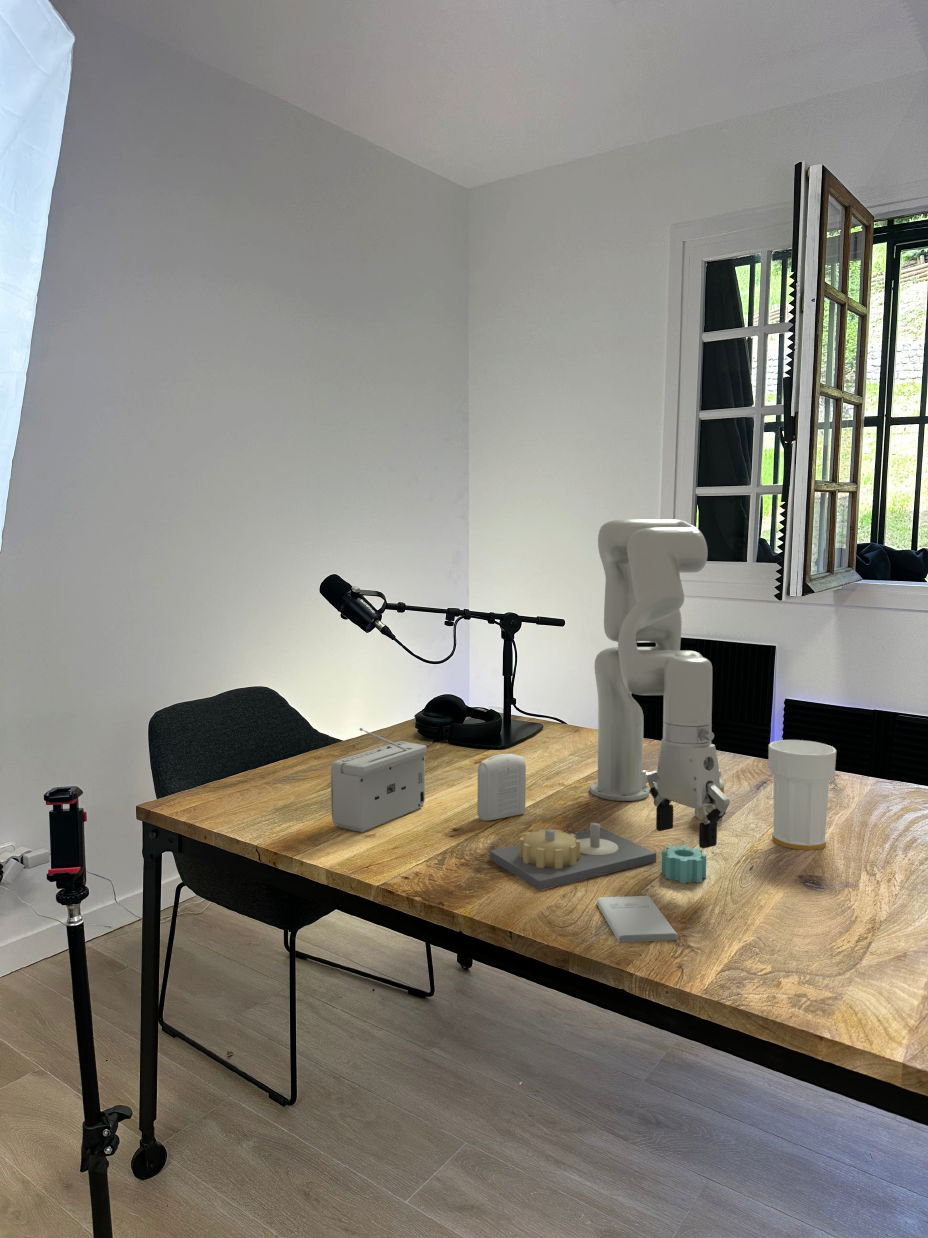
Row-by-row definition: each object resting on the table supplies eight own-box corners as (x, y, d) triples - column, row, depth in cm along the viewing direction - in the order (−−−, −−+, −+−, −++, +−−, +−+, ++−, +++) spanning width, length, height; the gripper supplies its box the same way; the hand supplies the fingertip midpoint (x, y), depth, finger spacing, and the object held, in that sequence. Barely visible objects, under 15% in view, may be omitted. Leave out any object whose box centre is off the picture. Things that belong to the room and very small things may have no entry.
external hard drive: (618, 946, 116) (596, 907, 128) (677, 944, 116) (649, 905, 129) (619, 935, 116) (596, 896, 128) (677, 933, 116) (650, 894, 129)
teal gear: (684, 863, 144) (684, 842, 143) (715, 877, 138) (715, 856, 137) (652, 871, 140) (653, 850, 140) (683, 886, 134) (683, 864, 134)
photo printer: (515, 808, 173) (516, 749, 172) (528, 814, 170) (529, 753, 168) (474, 817, 168) (473, 756, 166) (486, 823, 164) (486, 760, 163)
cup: (752, 835, 157) (754, 743, 155) (799, 827, 161) (802, 737, 160) (798, 856, 147) (801, 757, 145) (847, 847, 151) (851, 751, 149)
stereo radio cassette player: (399, 800, 179) (398, 707, 177) (430, 807, 174) (430, 711, 172) (329, 828, 162) (327, 725, 160) (361, 837, 157) (360, 730, 155)
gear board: (600, 835, 157) (600, 803, 157) (656, 861, 144) (656, 827, 144) (489, 859, 146) (489, 825, 145) (539, 890, 133) (539, 853, 132)
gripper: (745, 740, 131) (743, 849, 132) (666, 722, 146) (665, 820, 147) (710, 746, 127) (708, 858, 128) (633, 726, 142) (632, 827, 143)
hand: (685, 837), depth 138 cm, fingers open, 9 cm apart
